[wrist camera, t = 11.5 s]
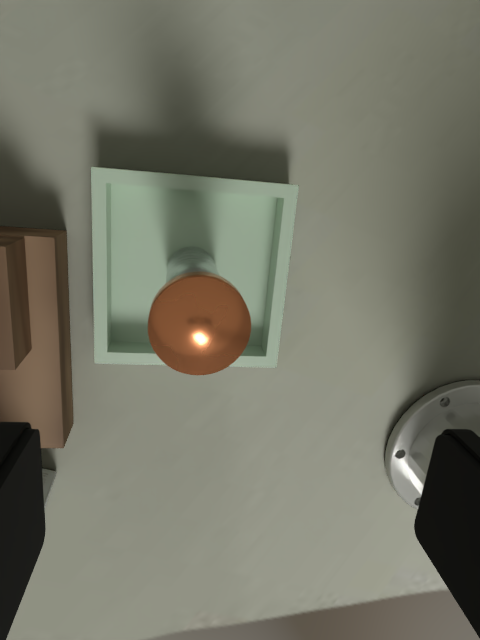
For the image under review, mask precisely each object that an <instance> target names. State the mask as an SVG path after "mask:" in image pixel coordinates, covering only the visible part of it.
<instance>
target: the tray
mask: <svg viewBox="0 0 480 640" xmlns="http://www.w3.org/2000/svg"><path fill="white" fill-rule="evenodd" d="M298 188H299V185H293V184H285V183H274V182H263V181H252V180H240V179H229V178H218V177H207V176H195V175H184V174H173V173H162V172H150V171H139V170H128V169H117V168H106V167H91V190H92V247H93V304H94V361H95V364H138V365H166V364H165V363H164V362H163V361H162V360H161V359H160V358H159V357H158V356H157V355H156V353H155V352H154V350H153V348H152V346H151V343H150V340H149V336H148V318H149V312H150V308H151V304H152V302H153V299H154V297H155V296H156V294H157V293H158V291H159V290H160V289H161V288H162V287H163V286H164V285H165V284H166V275H167V266H168V262H169V260H170V258H171V256H172V255H173V254H174V253H175V252H176V251H178V250H179V249H181V248H184V247H189V246H193V247H198V248H201V249H203V250H205V251H206V252H208V253H209V254H210V256H211V257H212V259H213V261H214V263H215V265H216V268H217V270H218V273H219V275H220V276H221V277H223V278H225V279H226V280H228V281H229V282H230V283H232V284H233V285H234V286H235V287H236V288H237V290H238V291H239V292H240V294H241V296H242V297H243V299H244V301H245V303H246V305H247V308H248V310H249V313H250V317H251V333H250V338H249V341H248V344H247V346H246V348H245V350H244V351H243V353H242V354H241V355H240V356H239V358H238V359H237V360H236V361H235V362H234V363H232V364H231V365H229V366H228V367H269V368H276V367H277V358H278V350H279V342H280V334H281V326H282V318H283V310H284V302H285V294H286V285H287V277H288V269H289V261H290V253H291V245H292V237H293V229H294V221H295V212H296V204H297V196H298Z"/></svg>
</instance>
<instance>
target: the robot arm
mask: <svg viewBox="0 0 480 640" xmlns="http://www.w3.org/2000/svg"><path fill="white" fill-rule="evenodd" d="M385 467H386V473H387V476H388V478H389V481H390V483H391V485H392V486H393V488H394V489H395V491H396V492H397V494H398V495H399V496H400V497H401V498H402V499H403V500H404V501H405V503H407V504H408V505H410V506H411V507H413V508H415V509H418V511H417V515H416V519H415V524H414V529H415V534H416V537H417V539H418V541H419V543H420V544H421V546H422V547H423V549H424V551H425V552H426V554H427V555H428V557H429V558H430V560H431V562H432V563H433V565H434V566H435V568H436V570H437V571H438V573H439V574H440V576H441V578H442V579H443V581H444V582H445V584H446V585H447V587H448V589H449V590H450V592H451V593H452V595H453V597H454V598H455V600H456V601H457V603H458V604H459V606H460V608H461V609H462V610H463V612H464V614H465V616H466V617H467V619H468V620H469V622H470V624H471V625H472V627H473V628H474V630H475V631H476V633H477V635H478V636H479V638H480V380H466V381H460V382H454V383H451V384H448V385H445V386H442V387H439V388H437V389H436V390H434V391H432V392H430V393H428V394H426V395H425V396H423V397H422V398H421V399H419V400H418V401H417V402H415V403H414V404H413V405H412V406H411V407H410V408H409V409H408V410H407V411H406V412H405V413H404V414H403V415H402V417H401V418H400V420H399V421H398V422H397V424H396V425H395V427H394V429H393V431H392V433H391V435H390V437H389V440H388V444H387V448H386V452H385ZM44 537H45V513H44V495H43V478H42V460H41V443H40V432H39V430H38V429H32V428H31V425H30V423H29V422H0V640H6V638H7V635H8V633H9V630H10V628H11V625H12V623H13V620H14V618H15V615H16V612H17V610H18V607H19V605H20V602H21V600H22V597H23V595H24V592H25V589H26V587H27V584H28V582H29V579H30V577H31V574H32V572H33V569H34V566H35V564H36V561H37V559H38V556H39V554H40V551H41V549H42V546H43V542H44Z"/></svg>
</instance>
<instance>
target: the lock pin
mask: <svg viewBox="0 0 480 640" xmlns="http://www.w3.org/2000/svg"><path fill="white" fill-rule="evenodd" d="M250 333H251V317H250V313H249V310H248V308H247V305H246V303H245V301H244V299H243V297H242V296H241V294H240V292H239V291H238V290H237V288H236V287H235V286H234V285H233V284H232V283H230V282H229V281H228V280H226V279H225V278H223V277H221V276H220V275H219V273H218V270H217V268H216V265H215V263H214V261H213V259H212V257H211V256H210V254H209V253H208V252H206V251H205V250H203V249H201V248H198V247H193V246H189V247H184V248H181V249H179V250H178V251H176V252H175V253H174V254H173V255H172V256H171V258H170V260H169V262H168V266H167V275H166V284H165V285H164V286H163V287H162V288H161V289H160V290H159V291H158V293H157V294H156V296H155V297H154V299H153V302H152V304H151V308H150V312H149V318H148V336H149V340H150V343H151V346H152V348H153V350H154V352H155V353H156V355H157V356H158V357H159V358H160V359H161V360H162V361H163V362H164V363H165V364H166V365H168V366H169V367H171V368H172V369H174V370H176V371H179V372H182V373H185V374H190V375H206V374H212V373H215V372H218V371H220V370H223V369H225V368H226V367H228V366H229V365H231V364H232V363H234V362H235V361H236V360H237V359H238V358H239V356H240V355H241V354H242V353H243V351H244V350H245V348H246V346H247V344H248V341H249V338H250Z"/></svg>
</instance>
